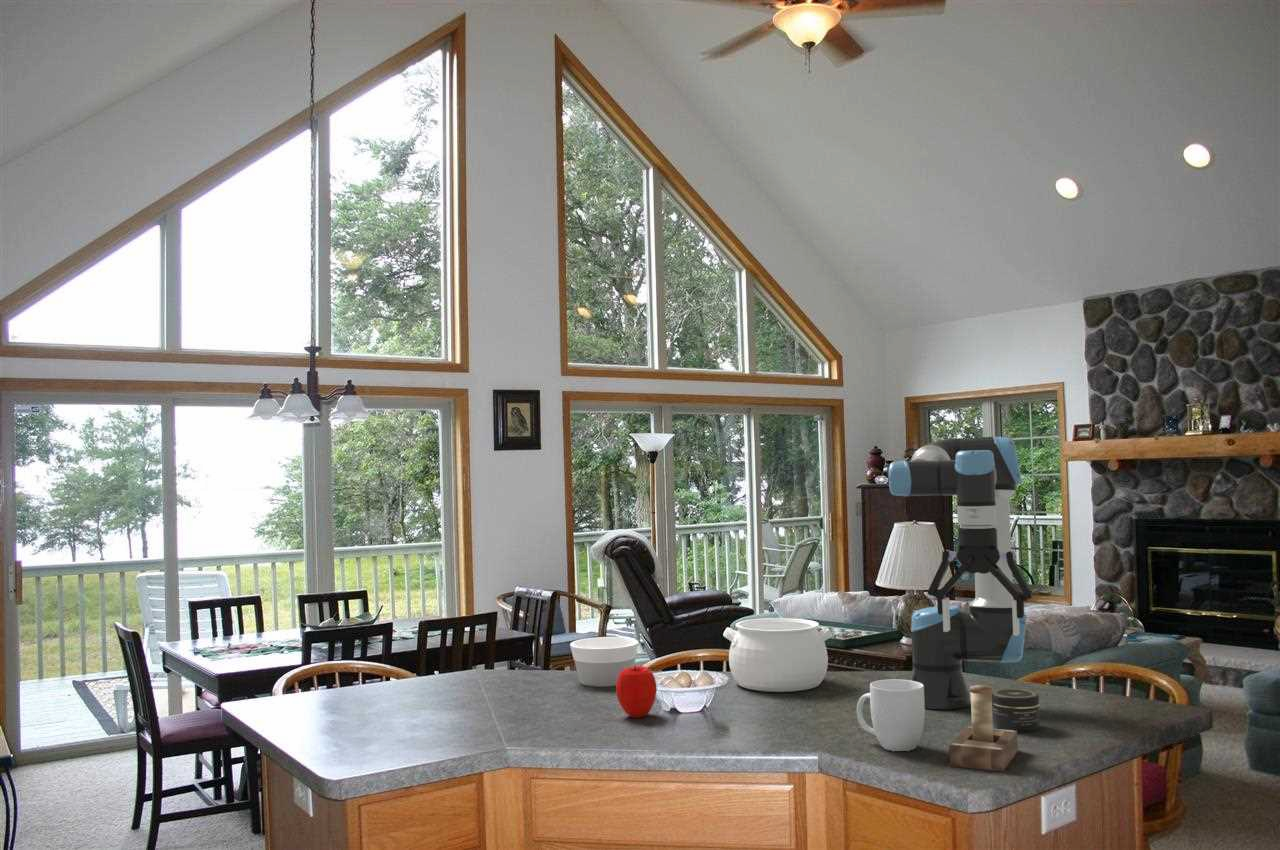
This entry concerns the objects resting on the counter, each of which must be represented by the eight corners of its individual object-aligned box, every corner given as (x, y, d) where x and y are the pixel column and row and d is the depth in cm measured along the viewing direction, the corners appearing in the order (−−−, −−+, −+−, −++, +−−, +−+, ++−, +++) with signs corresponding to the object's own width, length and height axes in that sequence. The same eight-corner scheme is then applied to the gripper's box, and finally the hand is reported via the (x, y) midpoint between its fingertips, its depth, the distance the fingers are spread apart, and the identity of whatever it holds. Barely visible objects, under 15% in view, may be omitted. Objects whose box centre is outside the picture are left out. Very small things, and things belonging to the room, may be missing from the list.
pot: (836, 675, 296) (834, 617, 297) (831, 696, 271) (829, 632, 271) (731, 673, 303) (729, 616, 304) (717, 693, 277) (715, 631, 278)
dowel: (970, 759, 212) (968, 688, 212) (975, 754, 215) (972, 684, 216) (992, 761, 210) (989, 690, 210) (996, 756, 213) (993, 686, 214)
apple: (632, 709, 262) (631, 659, 263) (666, 714, 257) (664, 663, 257) (608, 717, 254) (607, 666, 255) (642, 722, 248) (640, 670, 249)
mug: (845, 746, 223) (843, 684, 224) (870, 735, 232) (868, 675, 232) (911, 758, 214) (909, 692, 214) (935, 745, 222) (933, 682, 223)
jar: (1050, 730, 232) (1048, 695, 232) (1010, 735, 229) (1009, 699, 229) (1021, 720, 242) (1020, 686, 242) (983, 724, 239) (981, 690, 239)
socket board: (949, 765, 208) (949, 744, 208) (967, 745, 222) (966, 725, 222) (1003, 771, 203) (1002, 749, 203) (1017, 750, 217) (1017, 730, 217)
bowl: (569, 676, 305) (568, 638, 306) (636, 673, 308) (635, 635, 308) (572, 690, 286) (571, 650, 287) (643, 686, 288) (642, 646, 289)
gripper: (910, 527, 218) (914, 632, 217) (1039, 528, 205) (1043, 639, 205) (919, 524, 224) (923, 626, 223) (1045, 525, 212) (1049, 633, 211)
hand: (981, 632), depth 214 cm, fingers open, 13 cm apart
